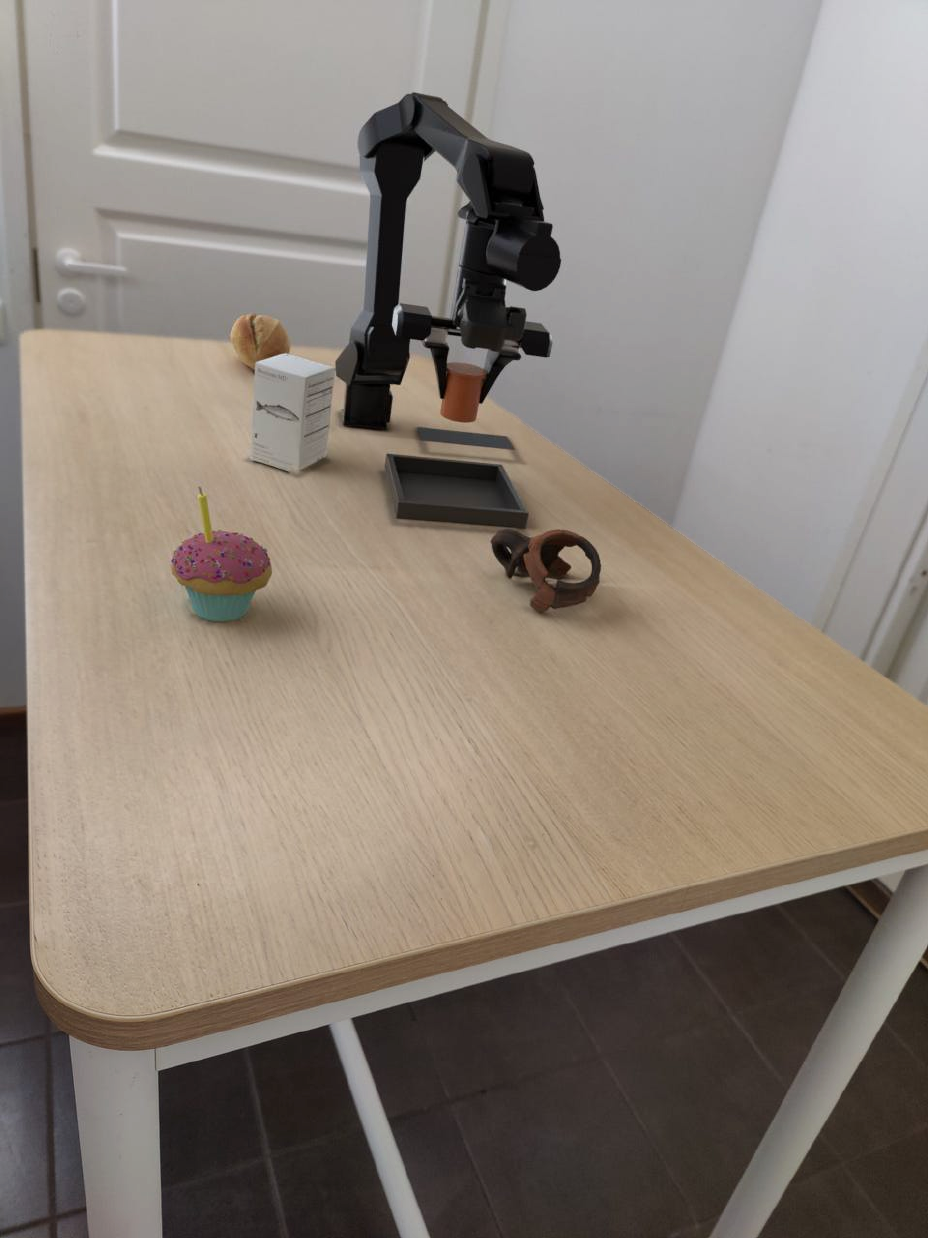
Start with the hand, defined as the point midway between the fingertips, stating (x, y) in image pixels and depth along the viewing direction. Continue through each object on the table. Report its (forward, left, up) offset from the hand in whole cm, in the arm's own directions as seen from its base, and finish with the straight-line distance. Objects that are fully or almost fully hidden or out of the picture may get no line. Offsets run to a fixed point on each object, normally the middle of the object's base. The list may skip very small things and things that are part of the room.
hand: (460, 400), depth 109 cm
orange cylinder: (0, 0, -2) cm, 2 cm away
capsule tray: (0, -5, -11) cm, 13 cm away
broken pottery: (+6, -27, -12) cm, 30 cm away
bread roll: (-25, +47, -12) cm, 54 cm away
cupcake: (-26, -34, -12) cm, 45 cm away
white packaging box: (-20, +4, -12) cm, 24 cm away
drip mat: (+6, +17, -11) cm, 21 cm away
